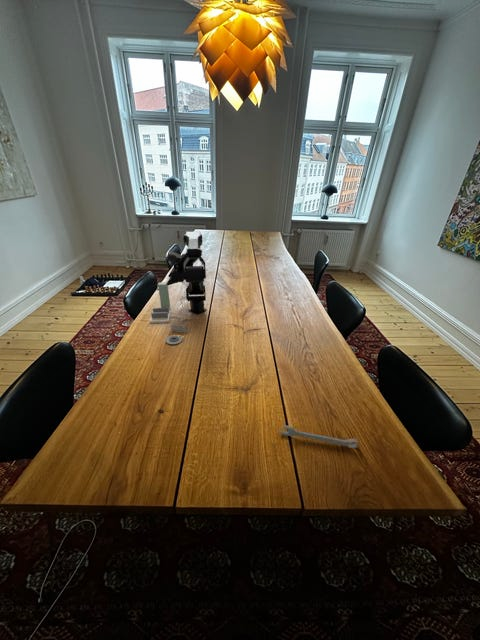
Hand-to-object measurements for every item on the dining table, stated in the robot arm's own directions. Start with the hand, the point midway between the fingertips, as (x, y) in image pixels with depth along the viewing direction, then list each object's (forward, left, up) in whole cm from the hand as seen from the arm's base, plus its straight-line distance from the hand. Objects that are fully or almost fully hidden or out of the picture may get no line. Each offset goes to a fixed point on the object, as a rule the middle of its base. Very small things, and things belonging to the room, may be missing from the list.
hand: (168, 280), depth 121 cm
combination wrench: (-88, +19, -14) cm, 92 cm away
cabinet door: (+1, +2, -14) cm, 14 cm away
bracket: (-24, +15, -14) cm, 32 cm away
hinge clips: (-6, +10, -13) cm, 18 cm away
